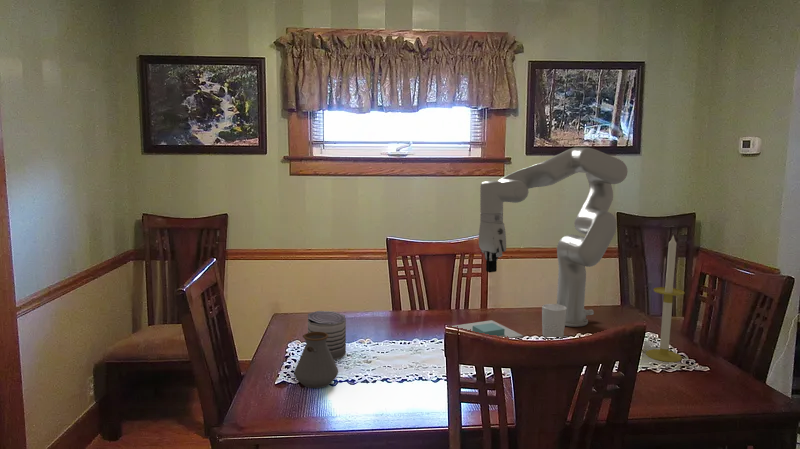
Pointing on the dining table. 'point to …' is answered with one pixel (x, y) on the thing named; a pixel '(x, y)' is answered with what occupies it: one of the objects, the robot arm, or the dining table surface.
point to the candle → (667, 310)
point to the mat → (507, 332)
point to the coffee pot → (316, 362)
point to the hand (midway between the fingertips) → (491, 271)
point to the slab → (489, 329)
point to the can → (330, 330)
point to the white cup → (553, 320)
